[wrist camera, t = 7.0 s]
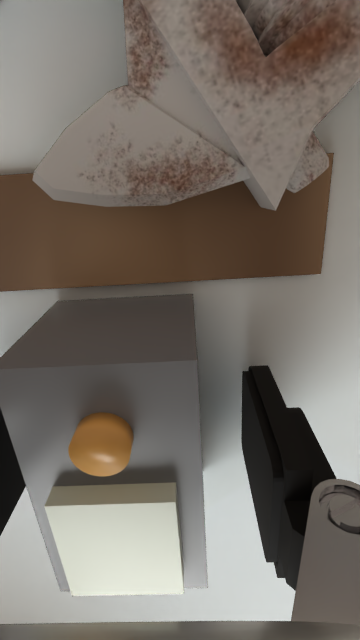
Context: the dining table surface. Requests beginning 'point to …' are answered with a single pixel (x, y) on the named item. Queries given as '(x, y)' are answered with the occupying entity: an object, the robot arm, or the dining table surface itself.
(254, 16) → the wrench
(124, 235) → the strip
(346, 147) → the dining table surface
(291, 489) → the robot arm
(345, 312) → the dining table surface
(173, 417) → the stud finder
